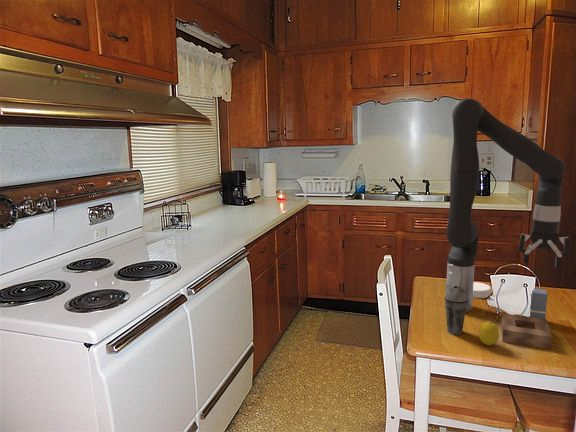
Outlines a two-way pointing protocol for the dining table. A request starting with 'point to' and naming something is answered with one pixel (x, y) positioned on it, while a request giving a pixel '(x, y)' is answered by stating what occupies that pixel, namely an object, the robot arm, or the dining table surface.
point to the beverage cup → (455, 308)
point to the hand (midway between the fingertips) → (541, 265)
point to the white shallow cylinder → (481, 290)
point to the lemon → (489, 333)
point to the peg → (538, 303)
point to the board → (526, 331)
